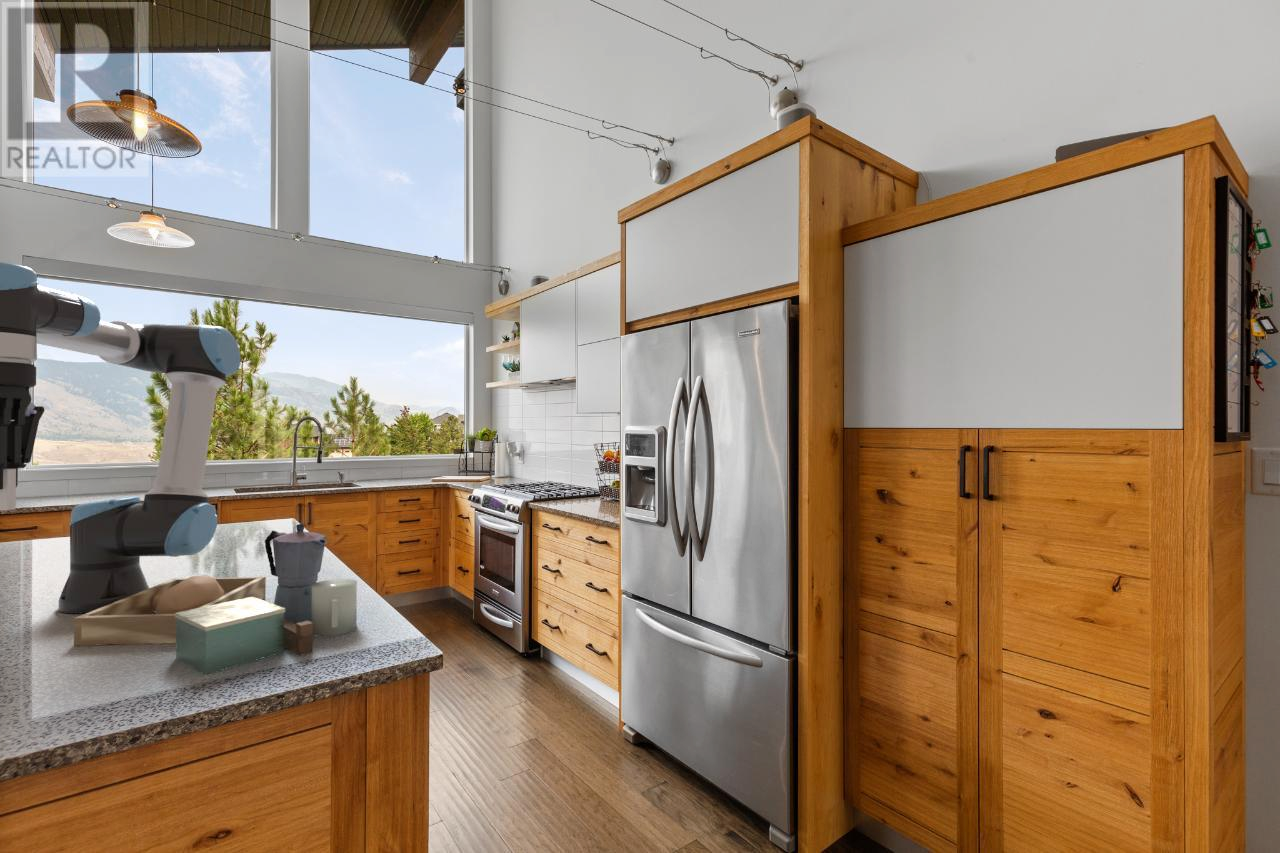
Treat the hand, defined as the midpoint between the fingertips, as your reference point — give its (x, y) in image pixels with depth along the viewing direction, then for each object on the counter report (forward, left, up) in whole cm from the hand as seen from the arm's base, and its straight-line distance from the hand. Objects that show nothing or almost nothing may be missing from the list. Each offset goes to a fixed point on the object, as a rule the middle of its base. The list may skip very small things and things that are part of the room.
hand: (2, 509), depth 97 cm
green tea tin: (-6, +31, -27) cm, 41 cm away
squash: (-27, +11, -26) cm, 39 cm away
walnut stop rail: (-12, +37, -26) cm, 47 cm away
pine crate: (-27, +11, -26) cm, 39 cm away
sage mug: (-17, +44, -26) cm, 54 cm away
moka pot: (-24, +34, -27) cm, 49 cm away
